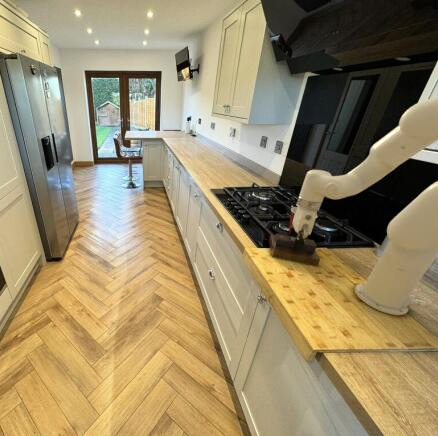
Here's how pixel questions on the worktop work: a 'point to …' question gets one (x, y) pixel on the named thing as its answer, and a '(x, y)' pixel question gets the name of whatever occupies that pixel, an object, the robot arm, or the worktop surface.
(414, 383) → the worktop surface
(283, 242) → the remote
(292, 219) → the plastic cup
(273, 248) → the block
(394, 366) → the worktop surface
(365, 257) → the worktop surface
